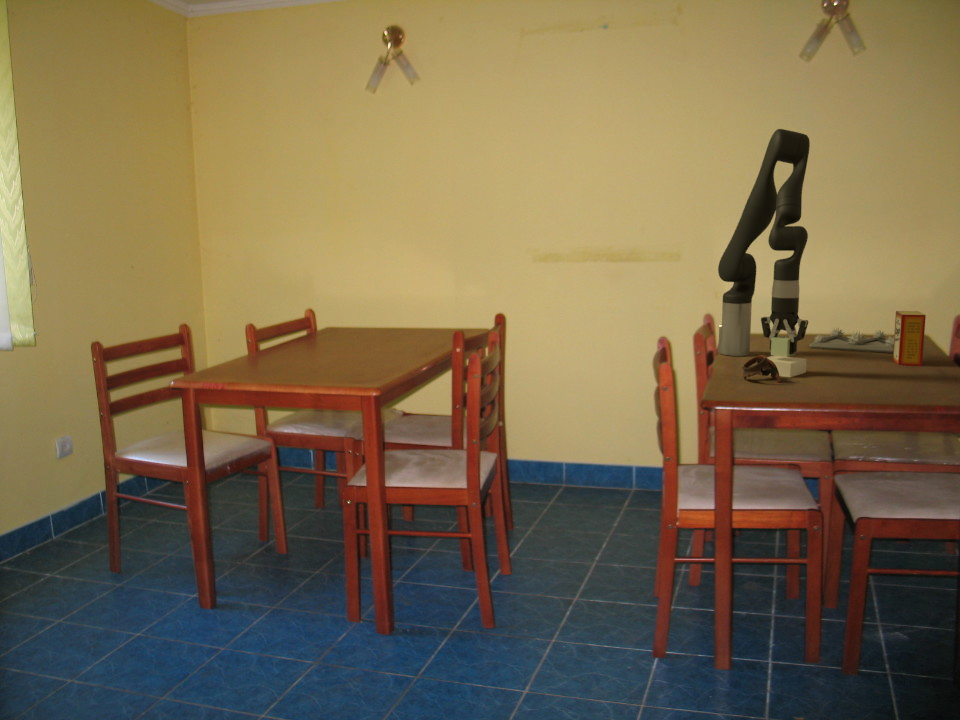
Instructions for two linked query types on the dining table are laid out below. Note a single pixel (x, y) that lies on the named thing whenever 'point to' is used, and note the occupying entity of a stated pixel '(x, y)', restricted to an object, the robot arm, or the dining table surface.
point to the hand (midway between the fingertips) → (782, 353)
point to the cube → (780, 346)
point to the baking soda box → (909, 338)
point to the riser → (789, 365)
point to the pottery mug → (761, 368)
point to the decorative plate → (854, 342)
